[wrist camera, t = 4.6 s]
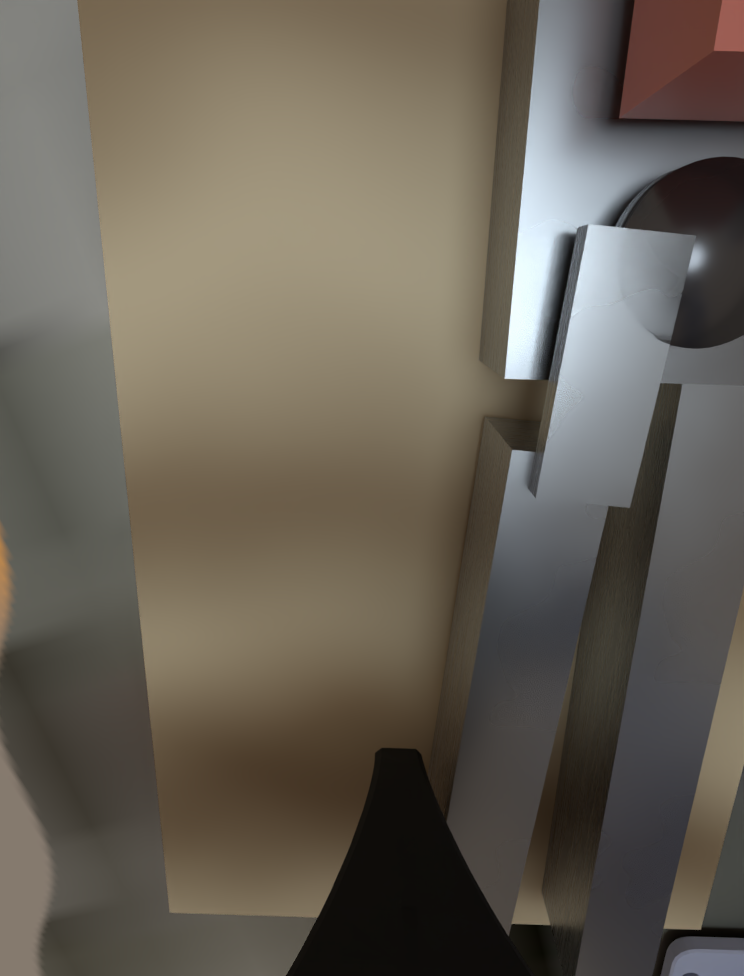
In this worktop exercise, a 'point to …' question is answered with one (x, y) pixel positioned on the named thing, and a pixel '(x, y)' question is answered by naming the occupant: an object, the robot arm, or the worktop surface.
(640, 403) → the bar
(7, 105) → the worktop surface
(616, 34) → the tongs body
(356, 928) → the robot arm
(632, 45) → the tab
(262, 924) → the worktop surface
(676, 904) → the board
